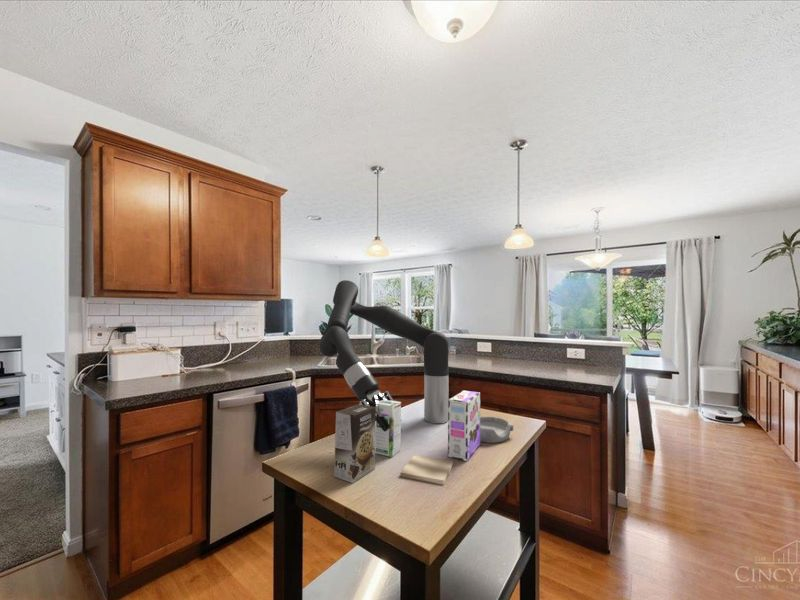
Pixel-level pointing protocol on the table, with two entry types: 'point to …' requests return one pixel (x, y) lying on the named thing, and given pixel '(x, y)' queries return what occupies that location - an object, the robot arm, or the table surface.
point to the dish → (494, 429)
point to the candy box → (463, 425)
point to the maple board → (427, 469)
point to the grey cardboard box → (354, 442)
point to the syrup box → (389, 439)
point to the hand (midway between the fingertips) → (393, 426)
